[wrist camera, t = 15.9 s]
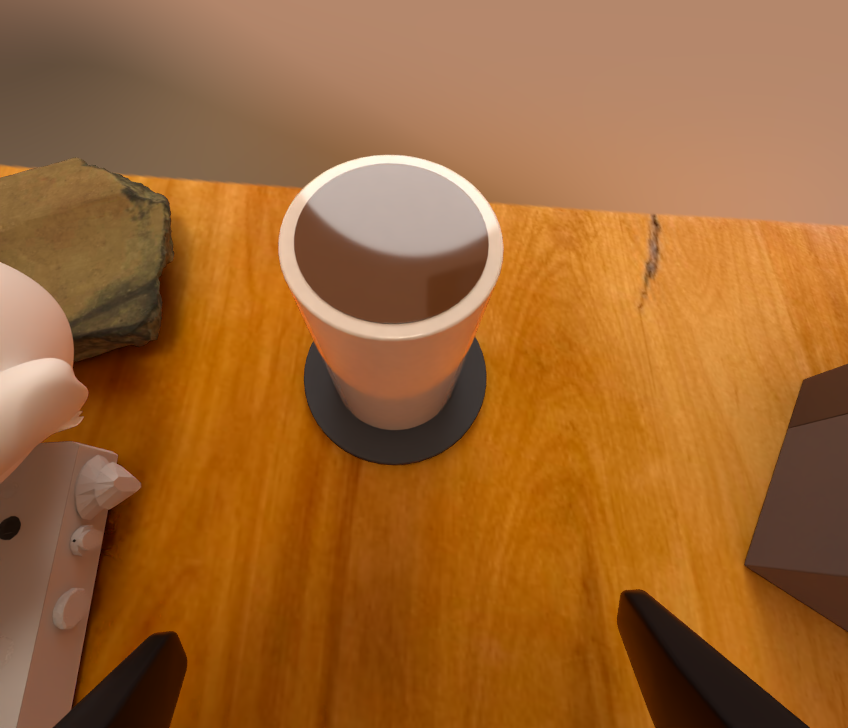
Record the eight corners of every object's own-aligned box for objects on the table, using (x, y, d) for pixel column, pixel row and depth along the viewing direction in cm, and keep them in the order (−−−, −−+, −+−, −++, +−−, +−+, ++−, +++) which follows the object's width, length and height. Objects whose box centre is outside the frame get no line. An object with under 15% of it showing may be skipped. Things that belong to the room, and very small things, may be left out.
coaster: (476, 478, 18) (478, 477, 18) (284, 449, 18) (282, 448, 18) (491, 309, 21) (493, 305, 21) (328, 285, 21) (326, 280, 21)
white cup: (477, 397, 19) (547, 284, 10) (364, 452, 18) (328, 379, 9) (422, 300, 21) (441, 128, 12) (316, 344, 19) (245, 190, 10)
